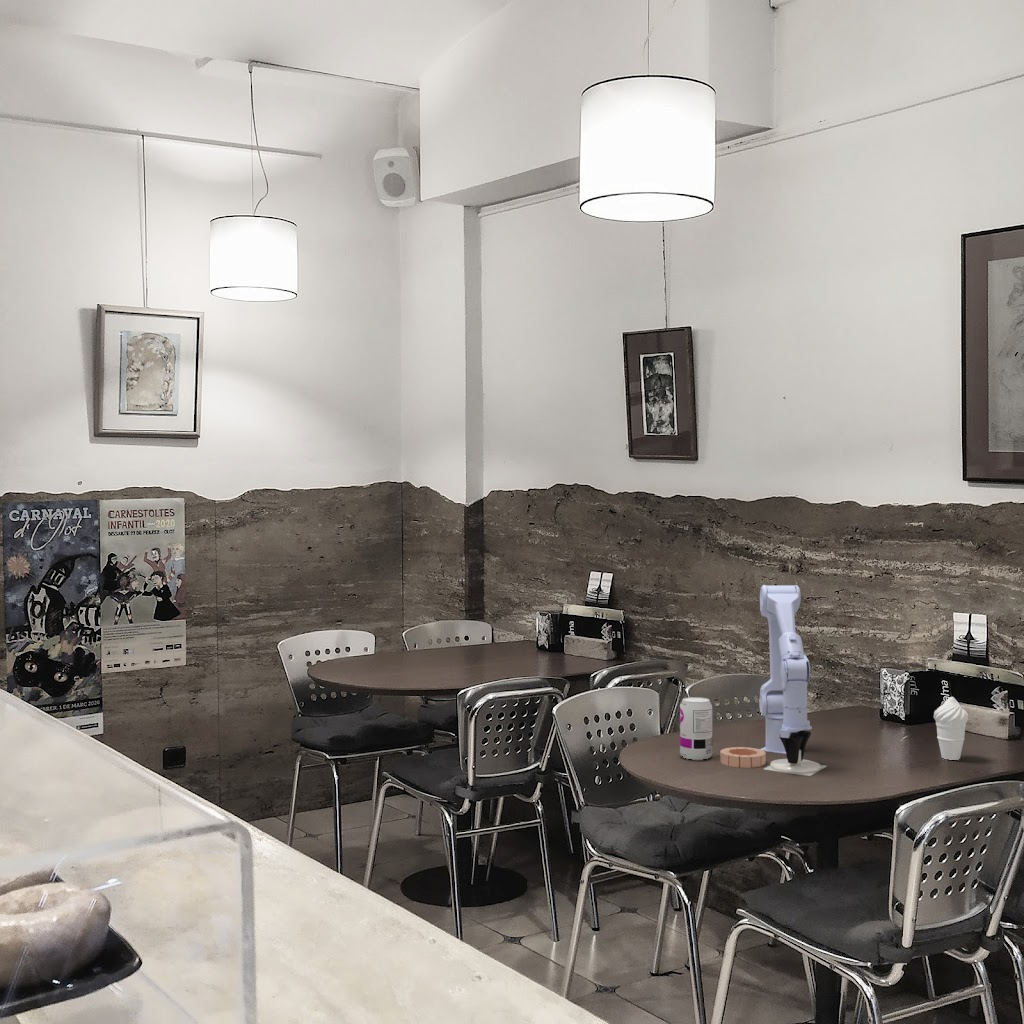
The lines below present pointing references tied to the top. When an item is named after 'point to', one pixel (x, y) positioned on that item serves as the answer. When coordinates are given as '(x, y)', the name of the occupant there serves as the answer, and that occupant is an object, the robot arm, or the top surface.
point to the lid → (795, 765)
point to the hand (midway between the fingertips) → (795, 761)
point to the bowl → (743, 757)
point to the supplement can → (696, 728)
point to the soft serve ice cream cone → (951, 728)
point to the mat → (797, 773)
